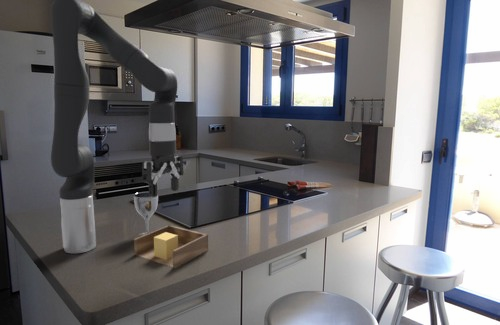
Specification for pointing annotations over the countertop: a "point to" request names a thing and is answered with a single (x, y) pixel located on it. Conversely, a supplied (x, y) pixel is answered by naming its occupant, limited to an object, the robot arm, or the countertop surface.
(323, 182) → the countertop surface
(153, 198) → the wine glass
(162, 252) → the block
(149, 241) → the box
